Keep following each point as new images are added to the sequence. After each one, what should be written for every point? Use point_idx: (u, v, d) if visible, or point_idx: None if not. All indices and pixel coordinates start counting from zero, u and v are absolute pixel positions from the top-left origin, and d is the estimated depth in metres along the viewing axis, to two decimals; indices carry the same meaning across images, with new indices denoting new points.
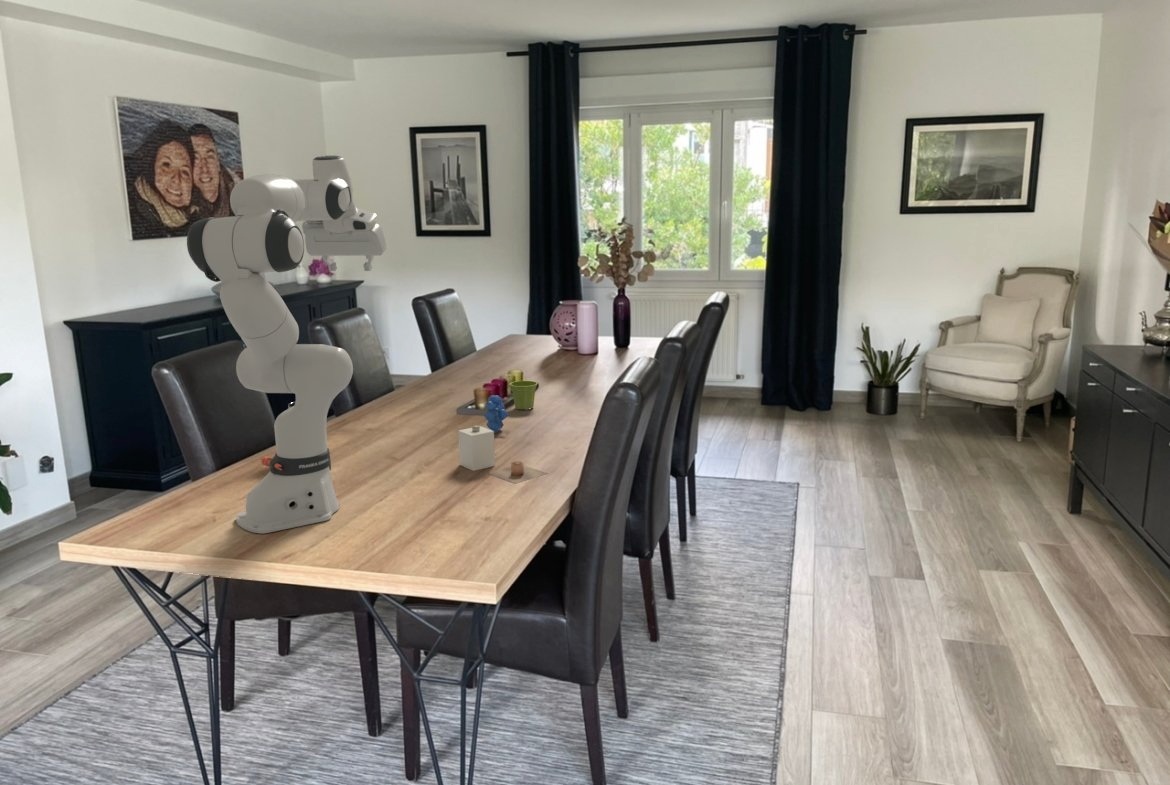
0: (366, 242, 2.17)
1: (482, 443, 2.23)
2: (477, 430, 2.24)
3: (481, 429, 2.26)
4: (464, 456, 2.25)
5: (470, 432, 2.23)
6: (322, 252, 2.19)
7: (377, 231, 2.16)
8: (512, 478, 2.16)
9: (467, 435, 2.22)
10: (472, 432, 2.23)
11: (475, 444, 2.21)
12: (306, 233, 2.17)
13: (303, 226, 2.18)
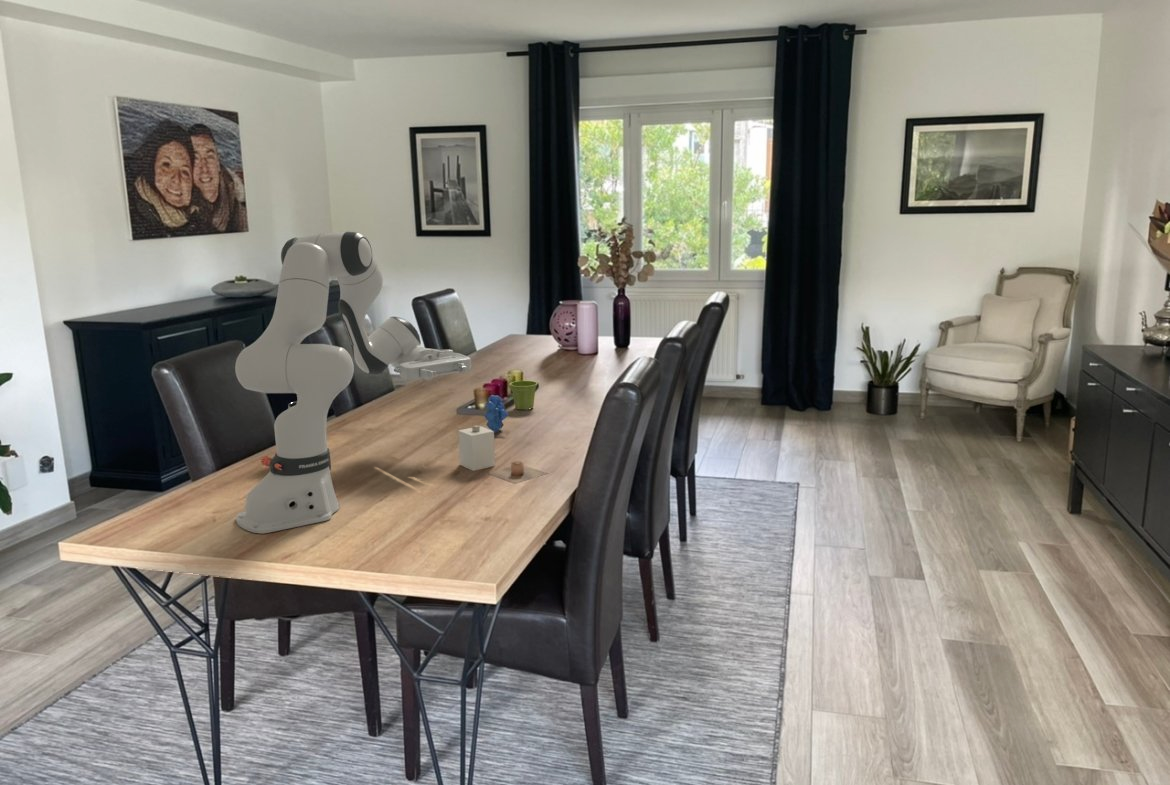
0: (454, 357, 2.41)
1: (482, 443, 2.23)
2: (477, 430, 2.24)
3: (481, 429, 2.26)
4: (464, 456, 2.25)
5: (470, 432, 2.23)
6: (420, 365, 2.31)
7: None
8: (512, 478, 2.16)
9: (467, 435, 2.22)
10: (472, 432, 2.23)
11: (475, 444, 2.21)
12: (400, 364, 2.33)
13: (395, 368, 2.34)
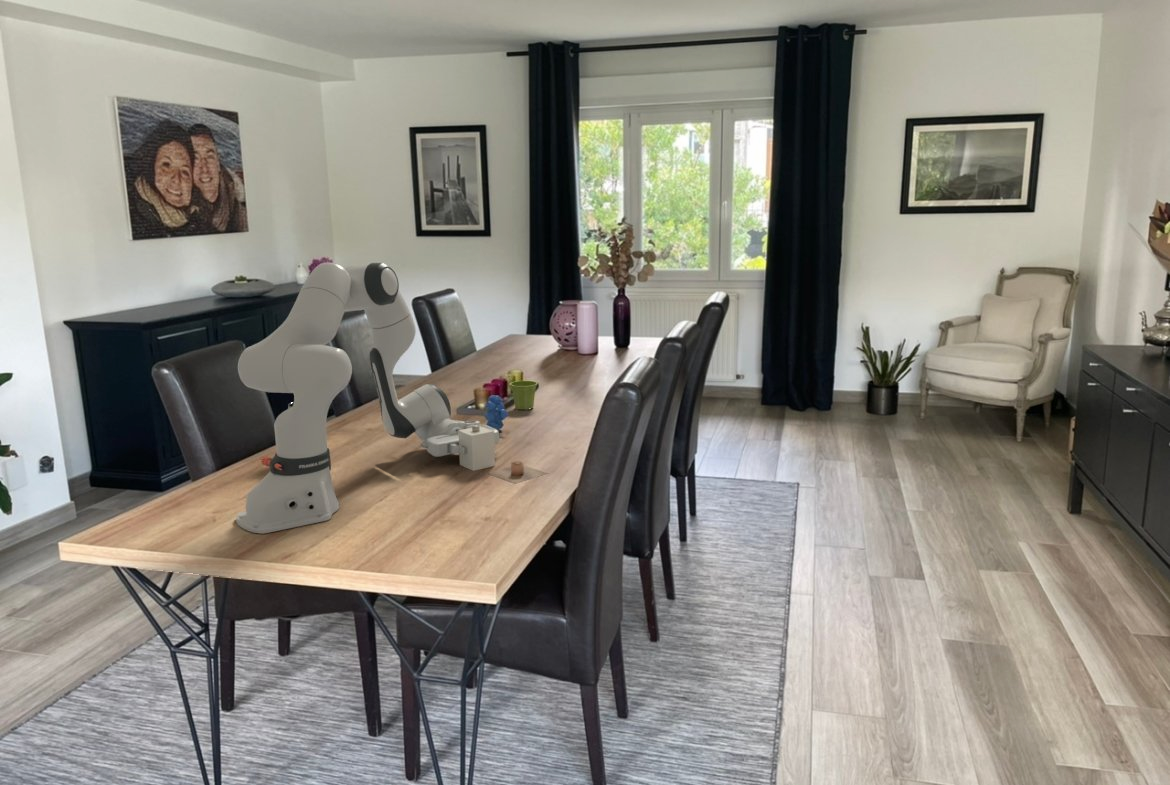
0: None
1: (482, 443, 2.23)
2: (477, 430, 2.24)
3: (481, 429, 2.26)
4: (464, 456, 2.25)
5: (470, 432, 2.23)
6: (448, 440, 2.26)
7: None
8: (512, 478, 2.16)
9: (467, 435, 2.22)
10: (472, 432, 2.23)
11: (475, 444, 2.21)
12: (427, 439, 2.28)
13: (422, 443, 2.28)
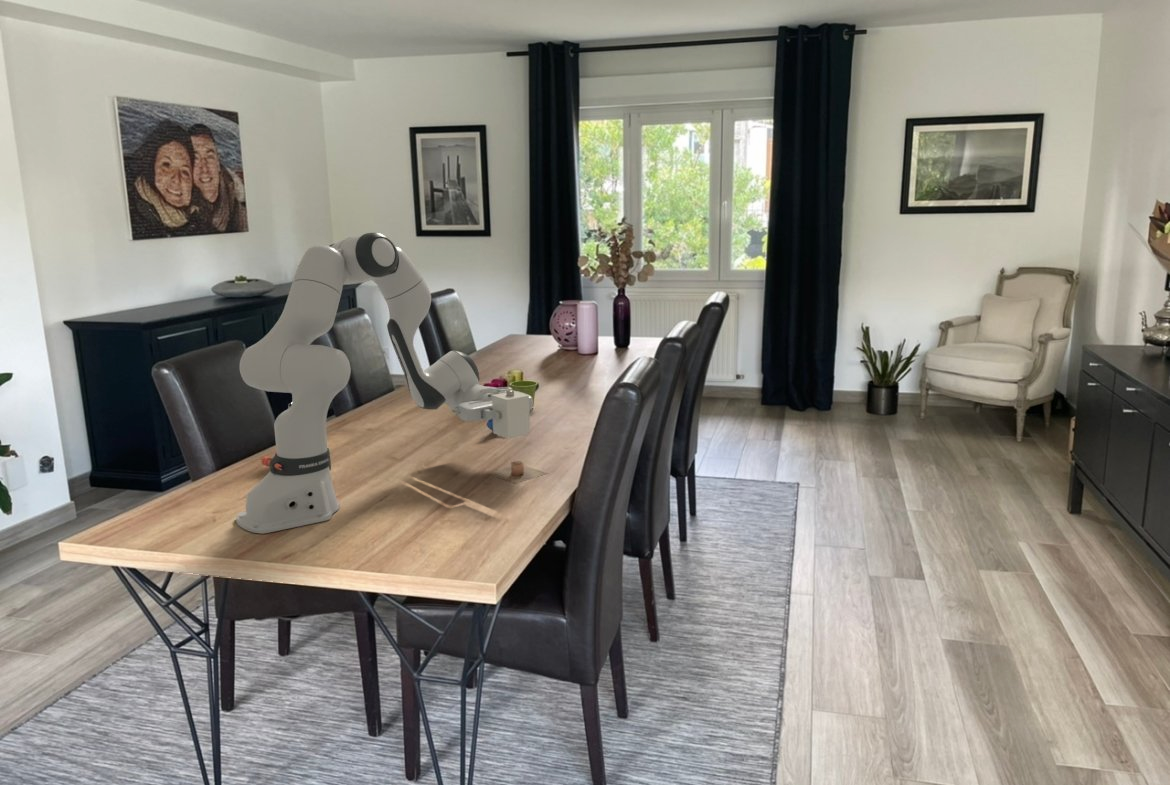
0: None
1: (517, 408, 2.14)
2: (512, 394, 2.15)
3: (515, 394, 2.18)
4: (498, 422, 2.16)
5: (504, 396, 2.15)
6: (481, 405, 2.17)
7: None
8: (512, 478, 2.16)
9: (501, 399, 2.13)
10: (506, 396, 2.15)
11: (510, 409, 2.13)
12: (459, 404, 2.19)
13: (453, 409, 2.20)
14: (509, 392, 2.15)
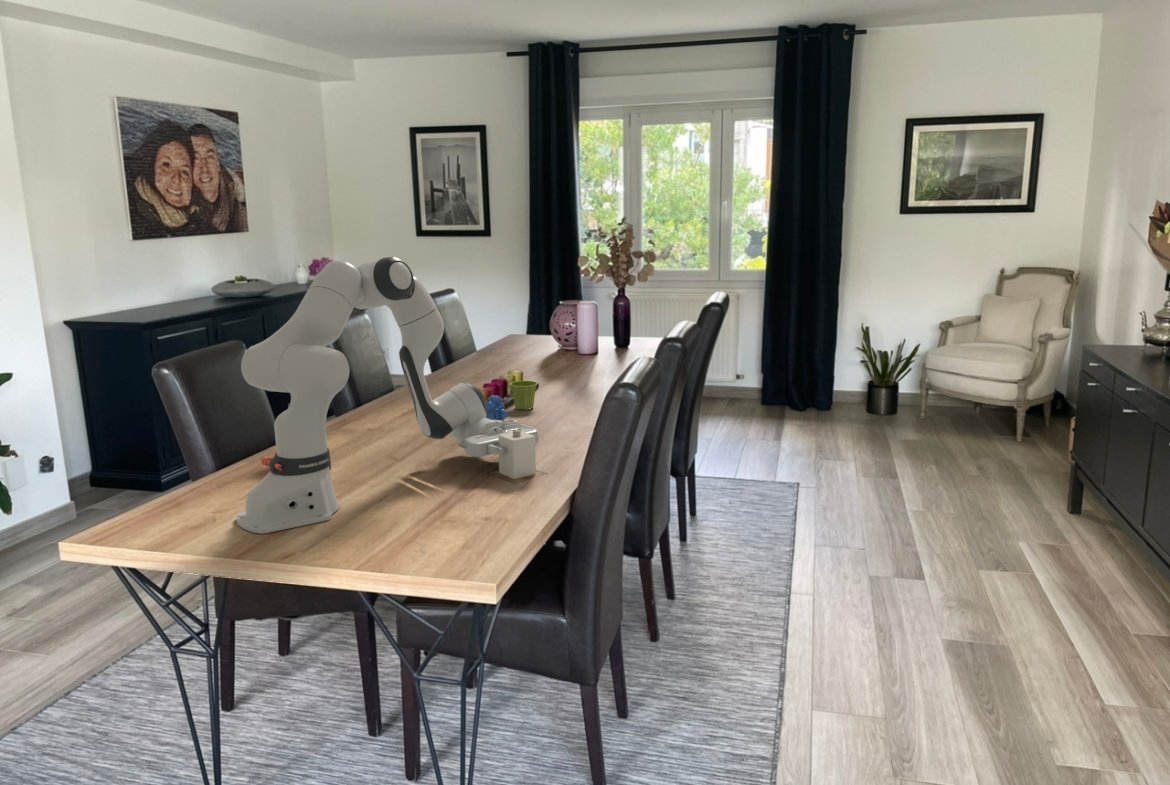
0: (520, 430, 2.27)
1: (523, 448, 2.16)
2: (518, 435, 2.17)
3: (522, 434, 2.19)
4: (504, 461, 2.18)
5: (511, 437, 2.16)
6: (487, 440, 2.18)
7: None
8: None
9: (508, 440, 2.15)
10: (513, 437, 2.16)
11: (516, 449, 2.14)
12: (465, 439, 2.20)
13: (460, 443, 2.21)
14: (516, 432, 2.17)
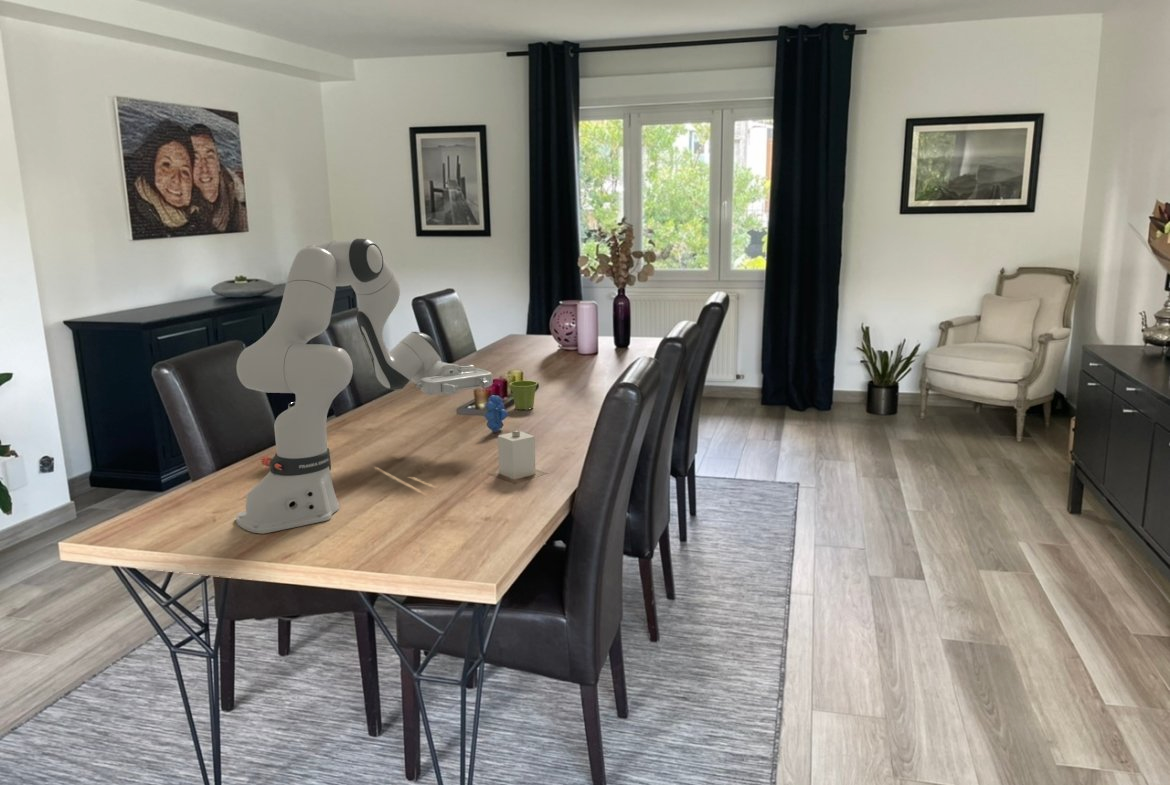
0: (475, 372, 2.40)
1: (523, 449, 2.15)
2: (517, 435, 2.17)
3: (521, 434, 2.19)
4: (504, 462, 2.18)
5: (510, 437, 2.16)
6: (442, 379, 2.30)
7: None
8: None
9: (507, 440, 2.15)
10: (512, 437, 2.16)
11: (515, 450, 2.14)
12: (422, 379, 2.32)
13: (416, 383, 2.33)
14: (515, 433, 2.16)
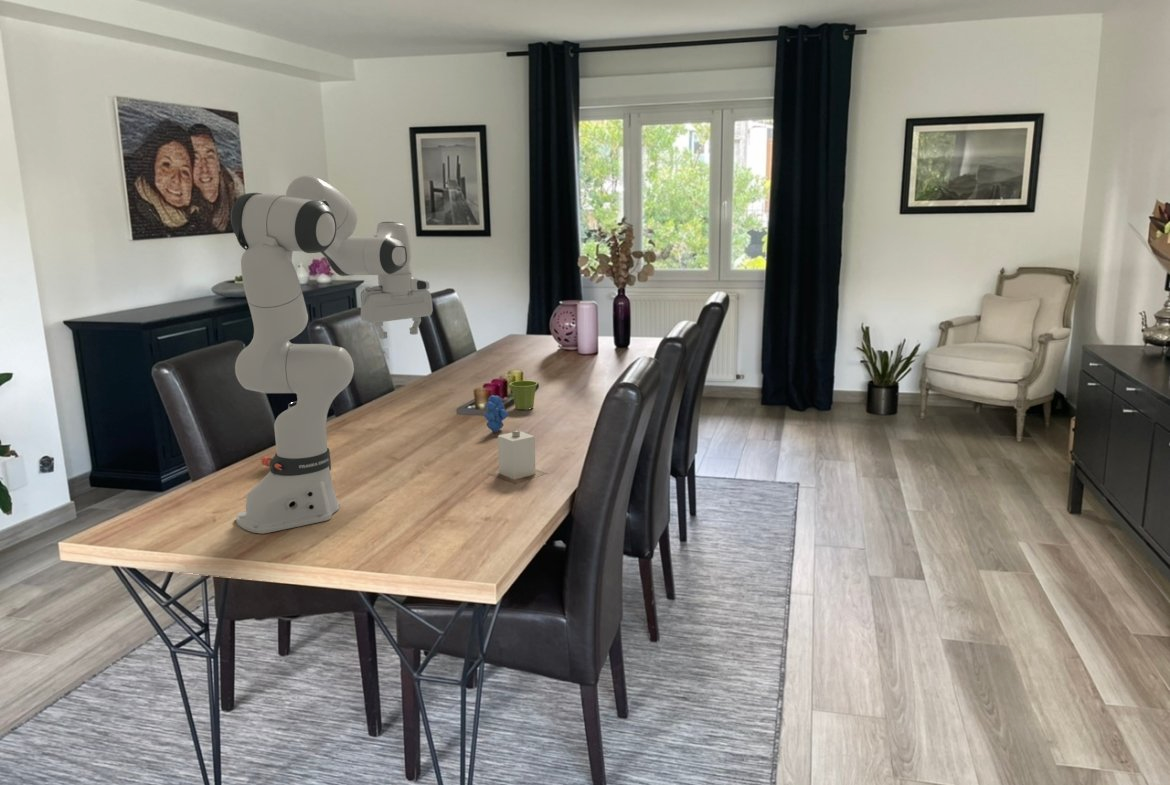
0: (420, 303, 2.31)
1: (523, 449, 2.15)
2: (517, 435, 2.17)
3: (521, 434, 2.19)
4: (504, 462, 2.18)
5: (510, 437, 2.16)
6: (382, 318, 2.23)
7: None
8: None
9: (507, 440, 2.15)
10: (512, 437, 2.16)
11: (515, 450, 2.14)
12: (369, 299, 2.20)
13: (363, 294, 2.20)
14: (515, 433, 2.16)
